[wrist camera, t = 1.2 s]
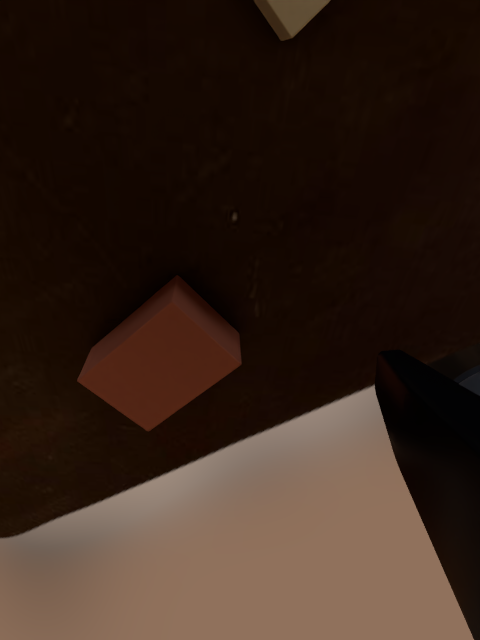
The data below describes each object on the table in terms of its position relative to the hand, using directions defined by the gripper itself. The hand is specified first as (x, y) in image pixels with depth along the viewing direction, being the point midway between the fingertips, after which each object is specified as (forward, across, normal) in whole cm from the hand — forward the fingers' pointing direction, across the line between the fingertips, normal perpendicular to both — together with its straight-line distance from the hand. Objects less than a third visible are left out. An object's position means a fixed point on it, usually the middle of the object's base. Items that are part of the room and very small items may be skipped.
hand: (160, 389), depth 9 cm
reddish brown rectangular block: (+14, +3, +8) cm, 16 cm away
